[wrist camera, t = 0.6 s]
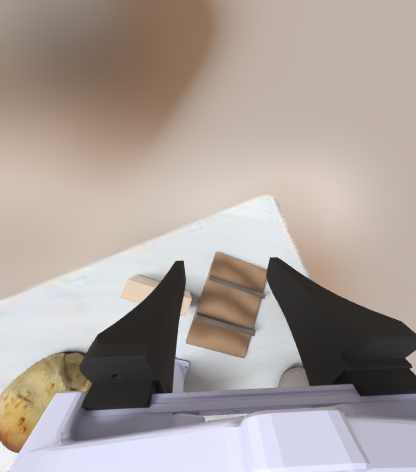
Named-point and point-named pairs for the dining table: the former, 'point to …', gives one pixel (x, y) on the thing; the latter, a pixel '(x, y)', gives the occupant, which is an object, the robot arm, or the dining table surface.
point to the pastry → (37, 395)
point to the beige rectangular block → (148, 291)
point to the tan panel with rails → (228, 306)
